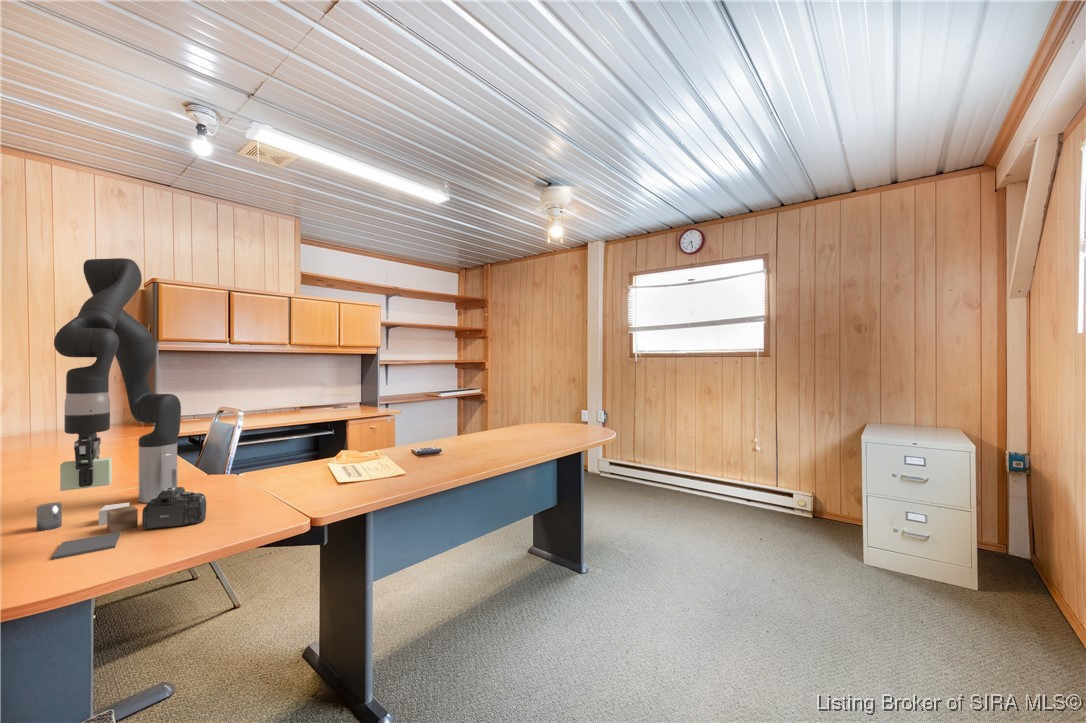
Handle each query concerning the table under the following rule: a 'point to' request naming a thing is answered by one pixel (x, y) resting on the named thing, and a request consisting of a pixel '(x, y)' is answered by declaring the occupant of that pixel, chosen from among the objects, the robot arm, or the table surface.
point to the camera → (174, 509)
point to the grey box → (104, 512)
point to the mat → (86, 545)
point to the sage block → (71, 475)
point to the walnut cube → (122, 519)
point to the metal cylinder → (49, 516)
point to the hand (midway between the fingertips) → (87, 483)
